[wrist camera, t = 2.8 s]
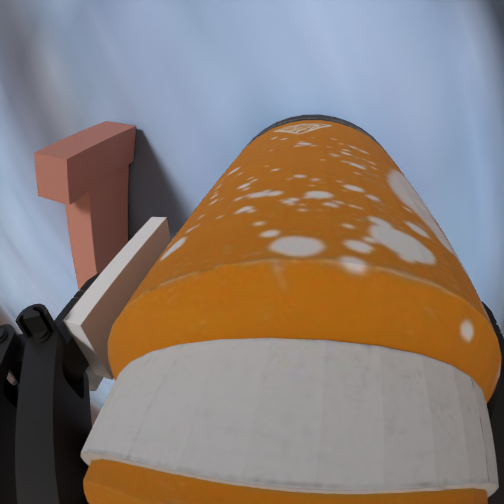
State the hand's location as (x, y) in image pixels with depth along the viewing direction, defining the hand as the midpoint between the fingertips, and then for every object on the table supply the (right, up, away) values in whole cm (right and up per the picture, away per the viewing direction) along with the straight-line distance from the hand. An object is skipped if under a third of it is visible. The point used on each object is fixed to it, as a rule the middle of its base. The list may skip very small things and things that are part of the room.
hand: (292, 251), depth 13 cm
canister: (+1, +3, +4) cm, 5 cm away
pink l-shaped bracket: (-11, +2, +7) cm, 13 cm away
